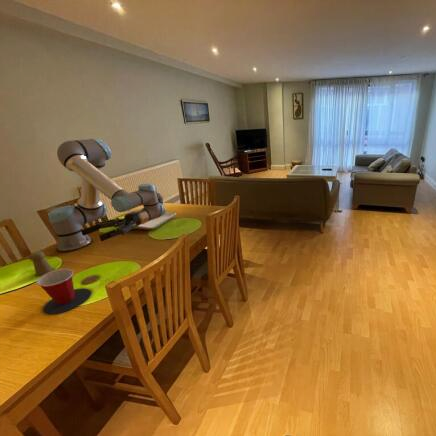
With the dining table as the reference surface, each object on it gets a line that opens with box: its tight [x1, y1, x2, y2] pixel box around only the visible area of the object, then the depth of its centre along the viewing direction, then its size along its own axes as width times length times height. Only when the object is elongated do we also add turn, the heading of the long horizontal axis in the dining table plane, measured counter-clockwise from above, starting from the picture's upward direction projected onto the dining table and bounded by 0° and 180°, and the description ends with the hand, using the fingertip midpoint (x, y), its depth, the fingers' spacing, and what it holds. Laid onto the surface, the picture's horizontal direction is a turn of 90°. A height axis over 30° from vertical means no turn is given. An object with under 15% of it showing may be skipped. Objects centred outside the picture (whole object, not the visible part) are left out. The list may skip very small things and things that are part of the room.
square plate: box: [132, 211, 177, 230], centre depth 172 cm, size 27×27×4 cm
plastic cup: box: [36, 268, 75, 305], centre depth 97 cm, size 11×11×12 cm
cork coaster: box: [81, 275, 99, 285], centre depth 112 cm, size 6×6×1 cm
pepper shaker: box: [28, 251, 54, 277], centre depth 116 cm, size 6×6×11 cm
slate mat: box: [42, 288, 92, 315], centre depth 99 cm, size 15×15×1 cm
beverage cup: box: [155, 187, 164, 205], centre depth 190 cm, size 7×7×20 cm
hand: (90, 235), depth 106 cm, fingers open, 13 cm apart
